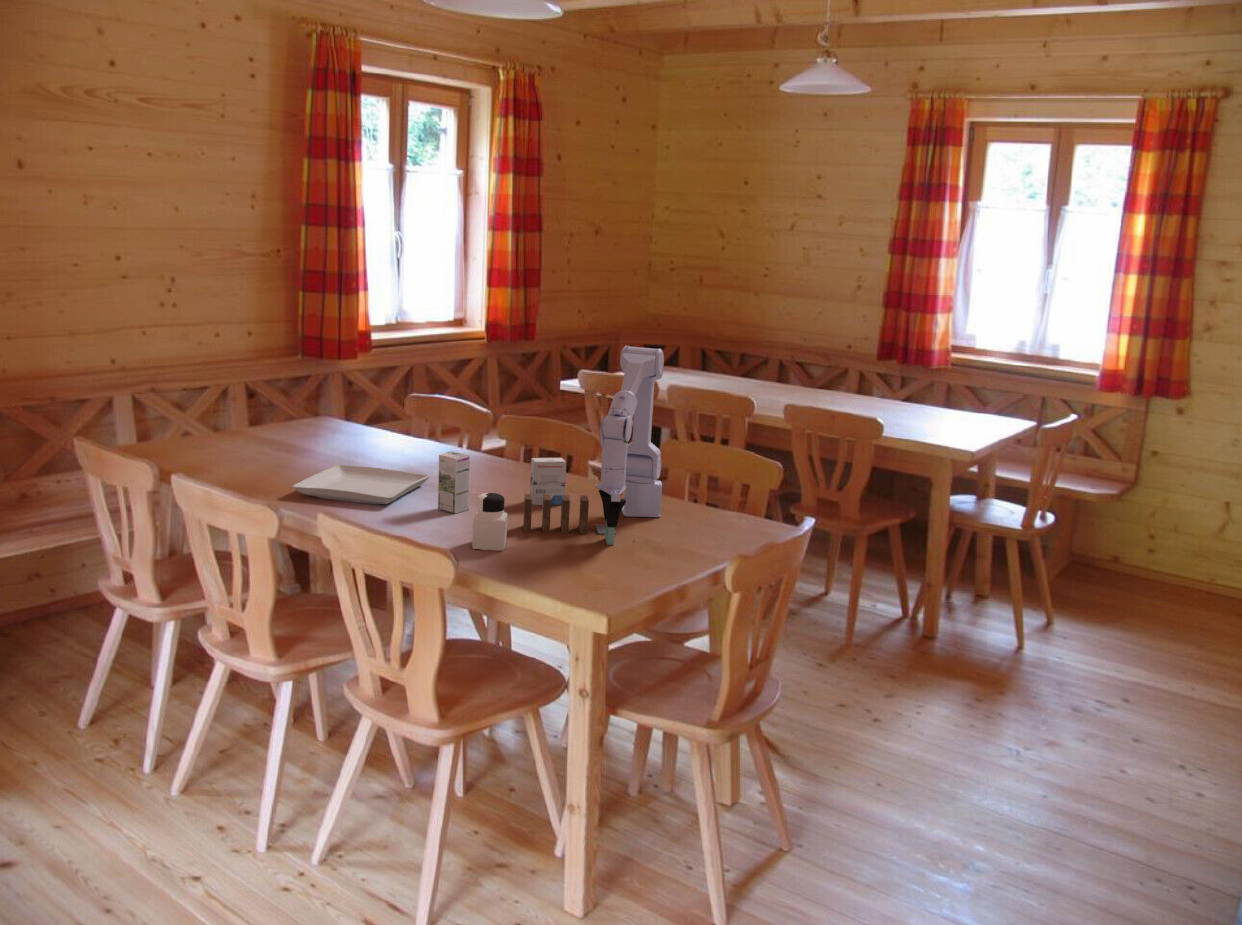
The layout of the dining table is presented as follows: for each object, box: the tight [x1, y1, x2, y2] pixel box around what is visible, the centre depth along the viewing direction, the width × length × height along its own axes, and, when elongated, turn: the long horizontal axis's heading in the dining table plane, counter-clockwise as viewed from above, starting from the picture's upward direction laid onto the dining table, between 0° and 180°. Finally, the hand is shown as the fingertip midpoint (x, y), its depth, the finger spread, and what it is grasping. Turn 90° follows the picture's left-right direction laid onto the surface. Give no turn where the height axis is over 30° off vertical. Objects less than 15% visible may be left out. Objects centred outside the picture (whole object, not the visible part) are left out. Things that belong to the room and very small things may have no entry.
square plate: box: [291, 464, 431, 505], centre depth 287 cm, size 27×27×4 cm
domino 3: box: [560, 494, 571, 534], centre depth 263 cm, size 2×5×8 cm, turn 7°
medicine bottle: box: [471, 492, 508, 552], centre depth 247 cm, size 7×7×12 cm
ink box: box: [529, 457, 567, 506], centre depth 286 cm, size 9×5×12 cm, turn 105°
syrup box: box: [437, 451, 471, 514], centre depth 274 cm, size 6×6×14 cm
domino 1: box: [522, 493, 533, 533], centre depth 262 cm, size 2×5×8 cm, turn 7°
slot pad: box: [594, 524, 617, 536], centre depth 265 cm, size 4×7×1 cm, turn 7°
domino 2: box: [541, 494, 552, 533], centre depth 263 cm, size 2×5×8 cm, turn 7°
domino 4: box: [578, 495, 590, 534], centre depth 264 cm, size 2×5×8 cm, turn 7°
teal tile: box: [604, 521, 616, 546], centre depth 256 cm, size 2×5×8 cm, turn 7°
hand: (610, 523), depth 256 cm, fingers closed on teal tile, 5 cm apart
